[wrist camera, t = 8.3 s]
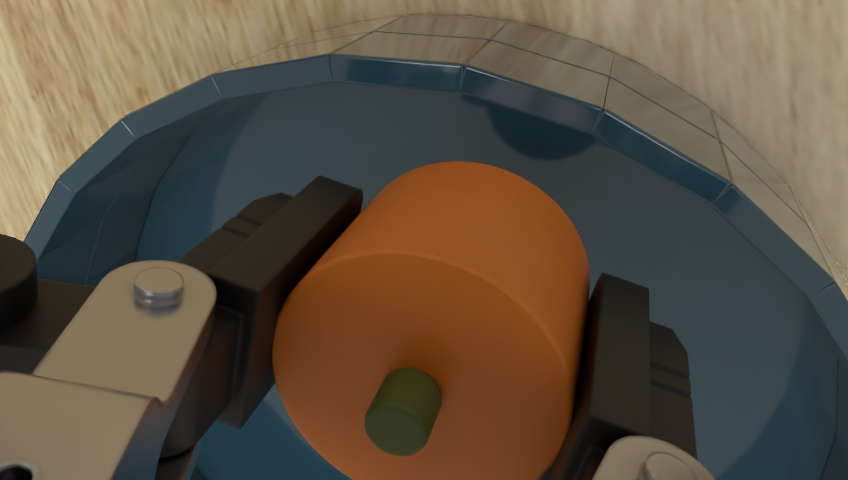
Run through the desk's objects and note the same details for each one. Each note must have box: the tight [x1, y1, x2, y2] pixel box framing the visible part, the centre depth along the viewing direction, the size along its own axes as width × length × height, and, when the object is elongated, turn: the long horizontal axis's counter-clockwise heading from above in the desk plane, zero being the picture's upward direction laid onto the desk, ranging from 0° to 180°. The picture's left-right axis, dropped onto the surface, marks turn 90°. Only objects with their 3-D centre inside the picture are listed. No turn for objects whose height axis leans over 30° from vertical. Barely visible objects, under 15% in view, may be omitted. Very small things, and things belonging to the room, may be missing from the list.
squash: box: [272, 161, 590, 480], centre depth 10 cm, size 4×4×4 cm
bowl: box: [23, 15, 848, 480], centre depth 19 cm, size 21×21×5 cm
